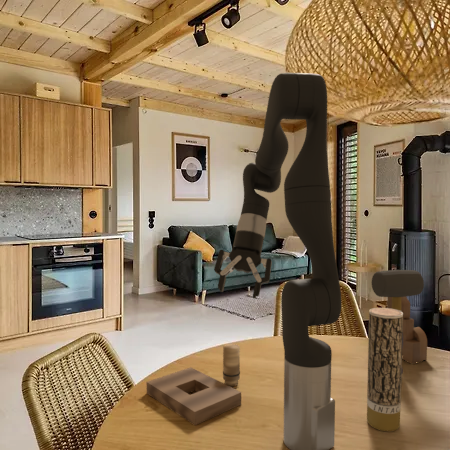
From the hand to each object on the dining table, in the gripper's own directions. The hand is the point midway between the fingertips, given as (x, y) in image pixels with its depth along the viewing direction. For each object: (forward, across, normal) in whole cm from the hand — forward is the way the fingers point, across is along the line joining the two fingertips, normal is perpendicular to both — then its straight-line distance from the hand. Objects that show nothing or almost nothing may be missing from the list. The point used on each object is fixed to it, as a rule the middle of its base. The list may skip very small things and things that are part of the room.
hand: (237, 294), depth 104 cm
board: (+27, -6, +4) cm, 28 cm away
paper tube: (+22, +37, 0) cm, 43 cm away
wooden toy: (+3, +50, +41) cm, 65 cm away
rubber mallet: (+11, +44, +24) cm, 52 cm away
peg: (+22, +1, +14) cm, 26 cm away
